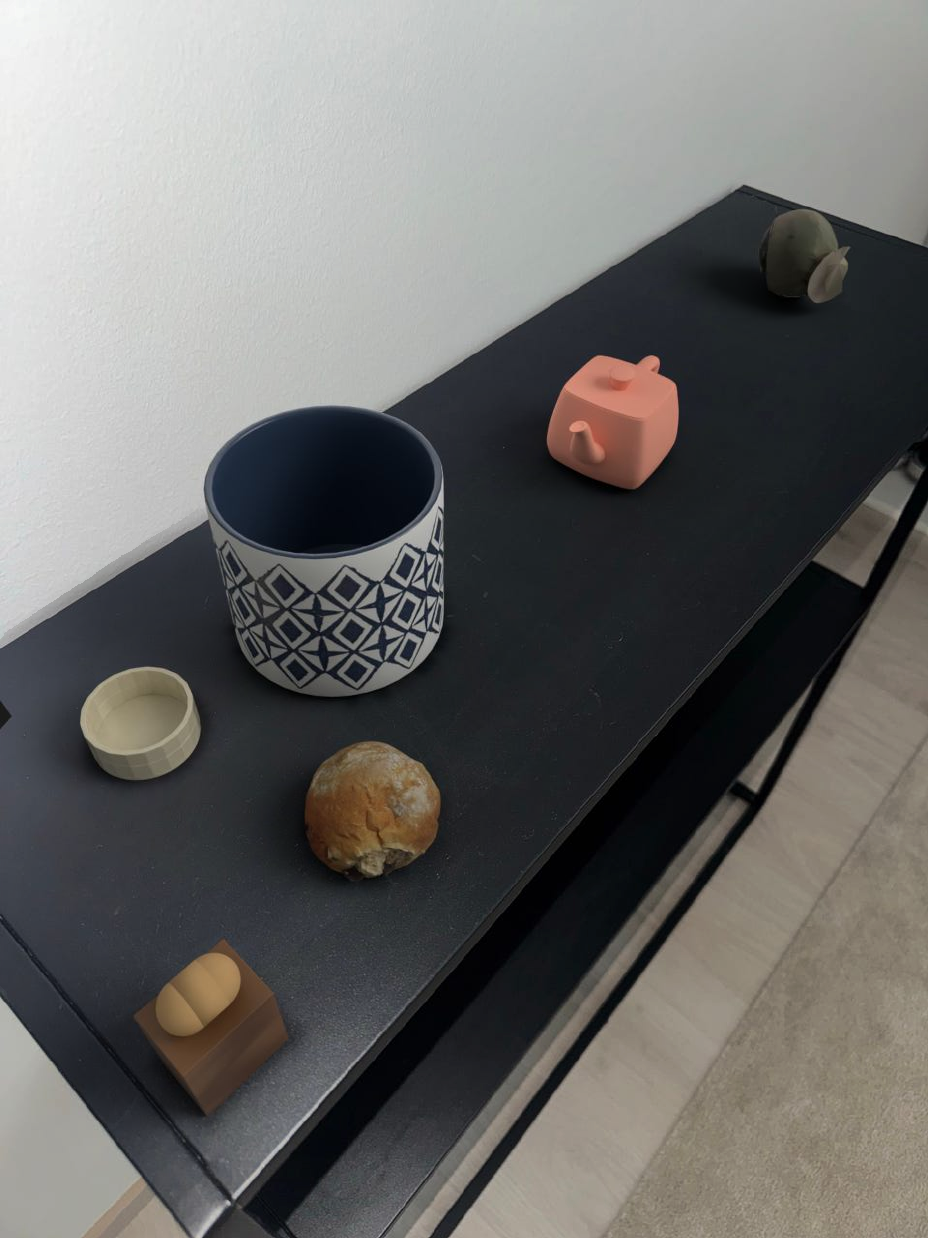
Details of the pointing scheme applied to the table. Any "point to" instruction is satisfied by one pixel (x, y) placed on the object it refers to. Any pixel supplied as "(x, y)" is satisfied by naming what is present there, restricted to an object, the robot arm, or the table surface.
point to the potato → (198, 994)
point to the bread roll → (371, 810)
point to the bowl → (141, 723)
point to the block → (221, 1039)
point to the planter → (330, 546)
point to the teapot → (615, 421)
